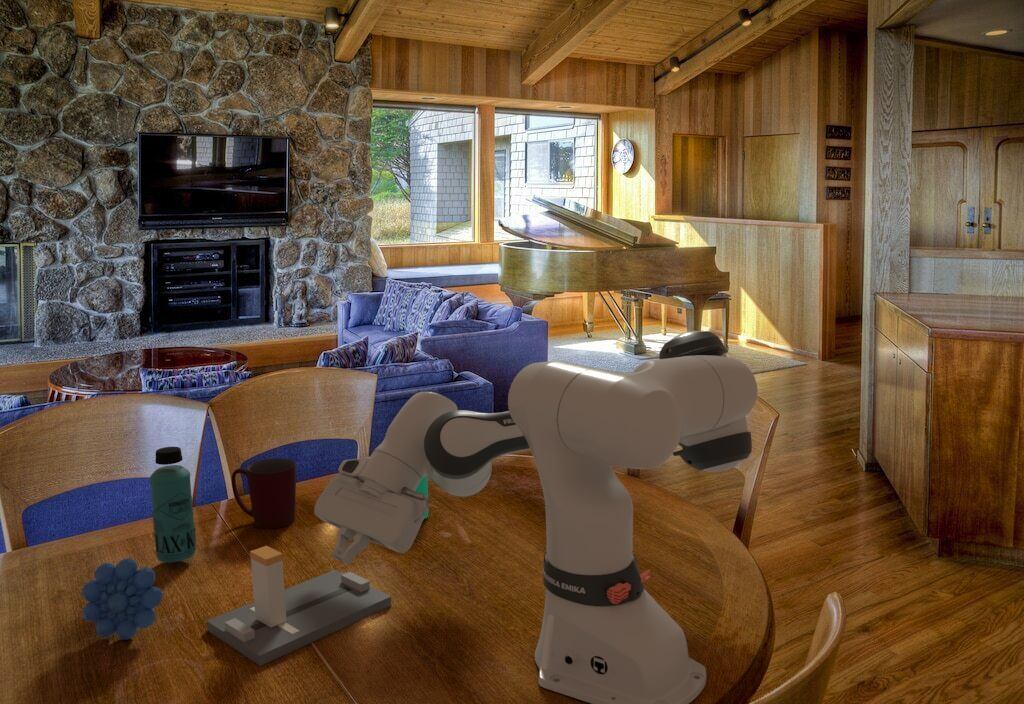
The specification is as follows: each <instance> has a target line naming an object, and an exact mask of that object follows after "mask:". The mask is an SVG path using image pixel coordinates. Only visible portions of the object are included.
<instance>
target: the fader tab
mask: <svg viewBox="0 0 1024 704" xmlns="http://www.w3.org/2000/svg"><path fill="white" fill-rule="evenodd" d="M249 557H250V563H251V576H252V577H251V578H252V589H253V592H252V593H253V602H254V607H255V618H256V619H257V620H259V621H261V622H262V623H264V624H266V625H267V626H269V627H270V628H271V627H274V626H276V625H278V624H281V623H283V622H285V621H286V607H285V591H284V590H285V578H284V576H285V575H284V566H283V565H284V564H283V563H284V562H283V561H284V555H283V553H282V552H281V551H278V550H276V549H274V548H272V547H270V546H269V545H264V546H262V547H259V548H258V547H257V548H256V549H253V550H250V551H249Z"/></svg>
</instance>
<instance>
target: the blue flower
mask: <svg viewBox="0 0 1024 704" xmlns="http://www.w3.org/2000/svg"><path fill="white" fill-rule="evenodd" d="M156 577H157V576H156V573H155V571H154V570H153V569H152V568H151V567H141V568H140V569H138V564H137V562H136V560H135V559H133V558H132V557H125V558H122V559H121V560H119V562H117V564H116V565H114V564H113V563H111V562H104V563H102V564H101V565H99V566H98V567H97V568H96V570H95V571H94V579H91V580H89V581H87V582H86V583H85V584H84V586H83V587H82V589H81V595H82V599H83V600H85V601H87V603H86V604H85V605H84V607H83V608H82V612H81V615H82V618H83V620H84V621H86V622H88V623H96V624H95V628H94V629H95V632H96V633H97V636H100V637H102V638H109V637H111V636H113V635H114V634H115V633H116V637H117V638H119V639H120V640H122V641H123V640H124V641H125V640H127V641H128V640H130V639H131V638H133V637H135V635H136V634H137V633H138V629H147V628H149V627H150V626H152V625H153V624H154V623H155V621H156V615H157V614H156V612H155V610H154V608H156V607H158V606H159V605H160V604H161V603H162V601H163V597H164V595H163V592H162V590H161V588H159V587H157V586H153V584H155V581H156Z"/></svg>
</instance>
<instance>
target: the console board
mask: <svg viewBox="0 0 1024 704" xmlns="http://www.w3.org/2000/svg"><path fill="white" fill-rule="evenodd" d="M284 591H285V607H286V621H285V622H283V623H281V624H278V625H276V626H274V627H271V628H270V627H269V626H267V625H266V624H264V623H262V622H261V621H259V620H257V619H256V618H255V607H254V601H252V602H250V603H248V604H245V605H243V606H240V607H237V608H234V609H233V610H230V611H227V612H225V613H222V614H219V615H217V616H214V617H212V618H209V619H207V620H206V629H207V630H206V631H208V632H209V633H210V634H212V635H213V636H215V637H216V638H218V639H220V640H221V641H223V643H225V644H227V645H228V646H230V647H231V648H233V649H234V650H236V651H237V652H239V653H240V654H242V655H243V656H245V657H246V658H248V659H249V660H250V661H252V662H254V663H256V665H258V666H260V667H261V666H263V665H266V664H269V663H270V662H272V661H275V660H277V659H279V658H281V657H283V656H285V655H288V654H290V653H292V652H295V651H297V650H299V649H301V648H303V647H305V646H308V645H310V644H312V643H313V642H316V641H318V640H321V639H322V638H325V637H326V636H328V634H329V635H331V634H333V633H336V632H338V631H340V630H342V629H344V628H347V627H349V626H350V625H353V624H355V623H357V622H359V621H362V620H363V619H366V618H368V617H370V616H373V615H375V614H377V613H379V612H381V611H383V610H385V609H387V608H390V607H392V596H390V595H389V594H387V593H384V592H382V591H380V590H378V589H376V588H374V587H371V583H370V580H368V579H366V578H364V577H362V576H359V575H358V574H356V573H353V572H351V571H347V572H346V573H343V572H340V571H338V570H337V569H334V570H330V571H328V572H326V573H323V574H321V575H318V576H315V577H313V578H311V579H308V580H305V581H302V582H300V583H298V584H295V585H293V586H289V587H288V588H284ZM337 630H338V631H337ZM335 631H336V632H335ZM324 636H325V637H324Z"/></svg>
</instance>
